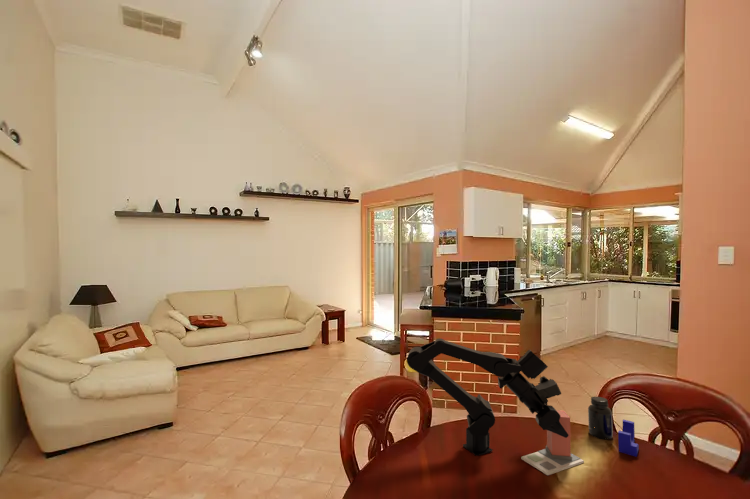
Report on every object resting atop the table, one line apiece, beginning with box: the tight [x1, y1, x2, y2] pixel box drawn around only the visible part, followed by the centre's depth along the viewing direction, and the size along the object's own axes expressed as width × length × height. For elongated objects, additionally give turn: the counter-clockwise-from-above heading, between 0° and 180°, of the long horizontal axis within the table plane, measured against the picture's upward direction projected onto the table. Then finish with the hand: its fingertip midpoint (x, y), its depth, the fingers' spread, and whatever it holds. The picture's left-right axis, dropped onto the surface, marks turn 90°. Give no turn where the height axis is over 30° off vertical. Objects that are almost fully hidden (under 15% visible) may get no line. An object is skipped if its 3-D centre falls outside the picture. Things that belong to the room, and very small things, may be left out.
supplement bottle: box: [587, 396, 614, 440], centre depth 120 cm, size 7×7×12 cm
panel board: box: [520, 448, 585, 476], centre depth 104 cm, size 15×9×1 cm, turn 115°
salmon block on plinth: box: [545, 409, 572, 461], centre depth 106 cm, size 6×6×12 cm
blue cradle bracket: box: [617, 419, 640, 458], centre depth 113 cm, size 12×4×6 cm, turn 139°
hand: (562, 429), depth 106 cm, fingers open, 9 cm apart
